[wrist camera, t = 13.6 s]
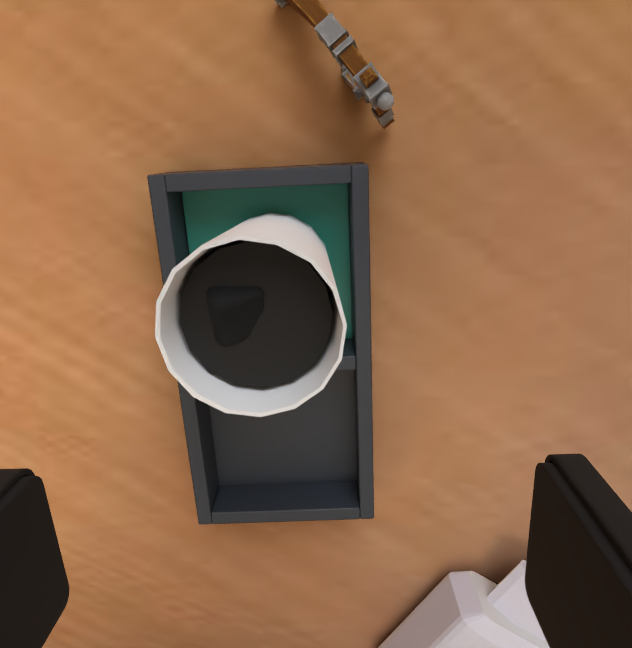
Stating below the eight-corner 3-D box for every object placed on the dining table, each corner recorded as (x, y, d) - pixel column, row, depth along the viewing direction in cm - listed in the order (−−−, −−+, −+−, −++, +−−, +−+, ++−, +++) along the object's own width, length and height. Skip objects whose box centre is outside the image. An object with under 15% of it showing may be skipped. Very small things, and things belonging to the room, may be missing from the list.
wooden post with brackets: (384, 151, 25) (369, 113, 21) (292, 33, 26) (260, -25, 22) (415, 126, 25) (406, 83, 20) (320, 8, 26) (293, -56, 22)
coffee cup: (221, 331, 28) (170, 422, 19) (204, 208, 26) (138, 242, 17) (341, 323, 28) (351, 411, 19) (334, 198, 26) (341, 227, 17)
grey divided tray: (363, 162, 26) (368, 164, 23) (369, 484, 32) (374, 519, 29) (166, 172, 27) (146, 175, 24) (209, 490, 33) (198, 525, 30)
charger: (613, 565, 34) (470, 698, 38) (507, 500, 33) (369, 646, 37) (657, 628, 30) (490, 771, 34) (536, 556, 28) (376, 715, 32)
